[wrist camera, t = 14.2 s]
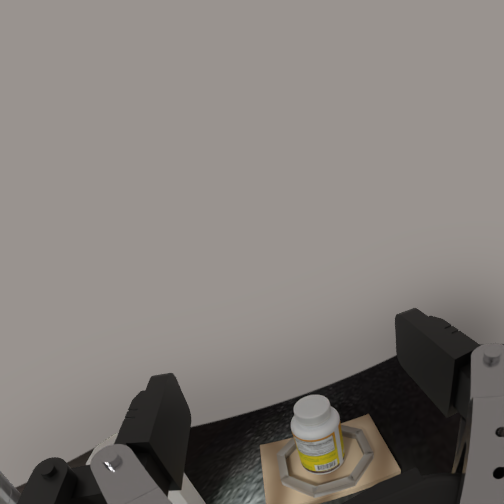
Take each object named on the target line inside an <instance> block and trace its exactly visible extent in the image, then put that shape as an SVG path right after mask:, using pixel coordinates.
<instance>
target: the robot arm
mask: <svg viewBox="0 0 504 504" xmlns="http://www.w3.org/2000/svg"><path fill="white" fill-rule="evenodd" d="M395 329H396V351H397V357H398V360H399V363H400V365H401V366H402V368H403V369H404V370H405V371H406V372H407V373H408V374H409V375H410V377H411V378H412V379H413V380H414V381H415V382H416V383H417V384H418V386H419V387H420V388H421V389H422V390H423V391H424V392H425V393H426V395H427V396H428V397H429V398H430V399H431V400H432V401H433V403H434V404H435V405H436V406H437V407H438V408H439V410H440V411H441V412H442V413H443V414H444V415H445V416H446V418H448V417H450V416H452V415H454V414H455V413H457V412H459V413H460V414H461V419H460V426H459V434H458V441H457V447H456V454H455V459H454V465H453V469H452V473H435V474H428V475H423V476H422V475H421V474H420V472H419V470H418V469H417V467H415V468H412V469H410V470H408V471H406V472H403V473H401V474H399V475H396V476H394V477H392V478H389V479H387V480H384V481H382V482H379V483H377V484H375V485H374V486H372V487H371V488H369V489H367V490H366V491H364V492H362V493H360V494H359V495H357V496H355V497H353V498H352V499H350V500H348V501H346V502H344V503H342V504H504V345H501V344H497V343H489V344H484V345H479V344H478V343H476V342H475V341H474V340H472V339H470V338H469V337H468V336H466V335H465V334H464V333H462V332H461V331H458V329H456V328H455V327H453V326H451V325H450V324H449V323H448V322H446V321H445V320H443V319H441V318H437V317H433V316H429V317H428V316H427V315H425V314H424V313H422V312H421V311H420V310H418V309H416V308H413V309H411V310H408V311H405V312H402V313H399V314H397V315H396V317H395ZM128 410H129V411H128V412H127V414H126V416H125V419H124V421H123V424H122V426H121V428H120V431H119V433H118V435H117V438H116V440H115V443H114V444H113V445H109V446H106V447H104V448H102V449H101V450H99V451H98V452H97V453H96V454H95V455H94V456H93V458H92V460H91V463H90V465H86V466H81V467H76V468H70V467H69V466H68V464H67V463H66V462H65V461H64V460H63V459H61V458H49V459H46V460H44V461H42V462H41V463H39V464H38V465H37V466H36V467H35V469H34V470H33V473H32V474H31V476H30V478H29V480H28V482H27V484H26V486H25V488H24V490H23V492H22V494H20V493H19V492H18V490H17V489H16V488H15V487H14V486H13V485H12V484H11V483H10V482H9V480H8V479H7V478H6V477H5V476H4V475H3V474H2V472H1V471H0V504H172V502H171V501H170V500H169V499H168V493H169V491H177V490H182V482H183V475H184V468H185V460H186V453H187V447H188V440H189V433H190V426H191V414H190V410H189V407H188V404H187V402H186V400H185V398H184V395H183V393H182V391H181V389H180V386H179V384H178V382H177V379H176V377H175V376H174V375H173V373H168V374H161V375H155V376H152V377H151V378H150V381H149V383H148V385H147V388H146V390H145V391H141V392H140V393H139V394H138V395H137V396H136V397H135V398H134V399H133V400H132V402H131V404H130V407H129V409H128Z"/></svg>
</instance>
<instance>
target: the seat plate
mask: <svg viewBox="0 0 504 504" xmlns="http://www.w3.org/2000/svg"><path fill="white" fill-rule="evenodd" d="M341 429H342V436H343V444H344V450H345V459H344V461H343V463H342V465H341V466H340V467H339V468H338V469H336V470H335V471H333V472H331V473H328V474H323V475H317V474H312V473H310V472H308V471H306V470H305V469H304V467H303V466H302V463H301V460H300V457H299V453H298V450H297V447H296V444H295V440H294V437H292V438H289V439H285V440H281V441H277V442H272V443H268V444H263V445H260V451H261V461H262V470H263V479H264V488H265V497H266V504H319V503H323V502H326V501H330V500H333V499H337V498H340V497H343V496H346V495H349V494H352V493H355V492H358V491H361V490H364V489H367V488H370V487H372V486H374V485H375V484H377V483H379V482H382V481H384V480H387V479H389V478H392V477H394V476H396V475H399V474H400V473H401V470H400V468H399V466H398V464H397V463H396V461H395V459H394V457H393V455H392V454H391V452H390V450H389V448H388V447H387V445H386V443H385V441H384V440H383V438H382V436H381V434H380V433H379V431H378V429H377V427H376V426H375V424H374V422H373V420H372V419H371V417H370V415H369V414H367V415H364V416H362V417H359V418H356V419H353V420H350V421H347V422H344V423H341Z"/></svg>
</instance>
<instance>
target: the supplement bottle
mask: <svg viewBox="0 0 504 504" xmlns="http://www.w3.org/2000/svg"><path fill="white" fill-rule="evenodd" d="M291 430H292V434H293V437H294V440H295V444H296V447H297V450H298V453H299V457H300V460H301V463H302V466H303V467H304V469H305V470H306V471H308V472H310V473H312V474H317V475H323V474H328V473H331V472H333V471H335V470H336V469H338V468H339V467H340V466H341V465H342V463H343V461H344V459H345V450H344V444H343V436H342V429H341V423H340V417H339V414H338V412H337V410H336V409H335V408H333V407H331V406H330V402H329V400H328V399H327V398H326V397H324V396H322V395H310V396H306V397H304V398H302V399H300V400H299V401H298V402H297V403H296V404H295V406H294V416H293V418H292V420H291Z"/></svg>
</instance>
